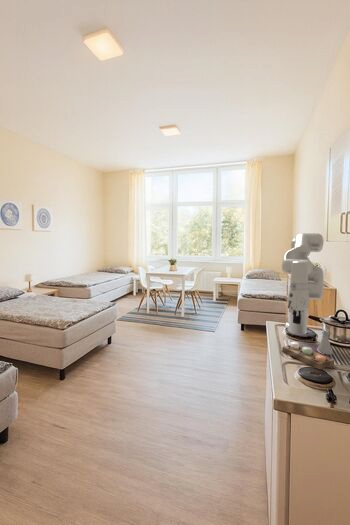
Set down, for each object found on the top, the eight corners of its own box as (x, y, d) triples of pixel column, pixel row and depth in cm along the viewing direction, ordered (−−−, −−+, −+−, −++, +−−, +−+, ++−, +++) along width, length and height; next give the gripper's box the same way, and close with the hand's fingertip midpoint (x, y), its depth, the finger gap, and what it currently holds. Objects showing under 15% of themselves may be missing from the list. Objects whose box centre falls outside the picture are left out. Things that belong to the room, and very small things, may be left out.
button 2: (300, 354, 126) (300, 347, 126) (306, 352, 127) (306, 346, 127) (307, 357, 122) (307, 350, 122) (313, 356, 124) (313, 349, 124)
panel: (282, 351, 132) (282, 346, 132) (296, 348, 136) (296, 343, 136) (318, 369, 114) (318, 363, 114) (333, 365, 118) (334, 359, 118)
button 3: (313, 362, 120) (313, 356, 119) (319, 361, 121) (319, 354, 121) (321, 366, 116) (321, 359, 116) (327, 365, 118) (327, 358, 117)
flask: (335, 356, 127) (336, 336, 127) (318, 354, 129) (320, 334, 128) (329, 350, 134) (331, 331, 134) (314, 348, 136) (315, 329, 135)
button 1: (288, 348, 132) (288, 342, 132) (294, 347, 134) (294, 341, 134) (294, 351, 129) (295, 345, 128) (300, 350, 130) (301, 344, 130)
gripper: (294, 289, 122) (292, 327, 123) (316, 286, 128) (313, 323, 130) (281, 286, 128) (279, 323, 130) (302, 284, 135) (300, 319, 136)
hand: (296, 323), depth 130 cm, fingers closed
